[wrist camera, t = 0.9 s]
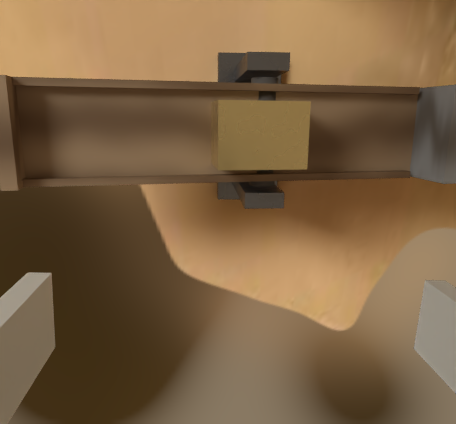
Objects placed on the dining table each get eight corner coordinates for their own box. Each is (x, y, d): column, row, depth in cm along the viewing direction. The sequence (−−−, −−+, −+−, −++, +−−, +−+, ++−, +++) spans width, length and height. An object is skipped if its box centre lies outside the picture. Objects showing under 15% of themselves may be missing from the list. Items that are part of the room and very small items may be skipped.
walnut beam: (5, 72, 28) (-28, 61, 22) (462, 84, 35) (522, 79, 30) (18, 188, 30) (-9, 205, 24) (450, 177, 37) (504, 188, 32)
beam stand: (218, 54, 39) (226, 29, 28) (279, 55, 40) (312, 31, 29) (217, 197, 43) (224, 226, 31) (274, 197, 43) (302, 225, 32)
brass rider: (211, 101, 29) (218, 99, 26) (292, 102, 30) (310, 101, 26) (211, 163, 30) (218, 170, 27) (289, 162, 31) (307, 169, 27)
